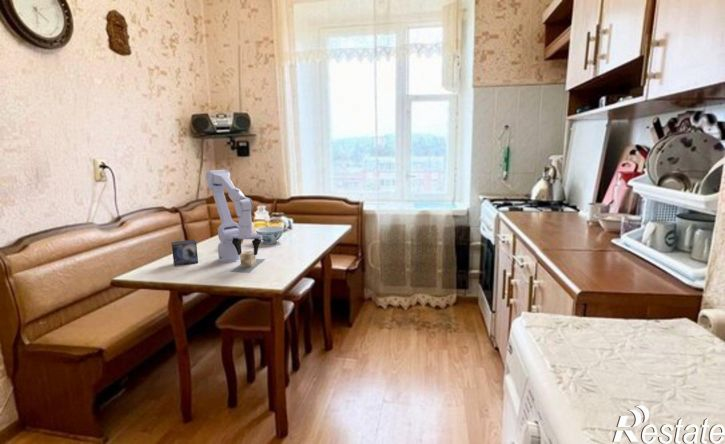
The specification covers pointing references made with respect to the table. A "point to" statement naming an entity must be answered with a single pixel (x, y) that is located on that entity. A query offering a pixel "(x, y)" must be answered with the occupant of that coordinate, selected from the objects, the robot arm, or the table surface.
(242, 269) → the grey plate
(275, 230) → the chinaware
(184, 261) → the small box
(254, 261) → the maple block
